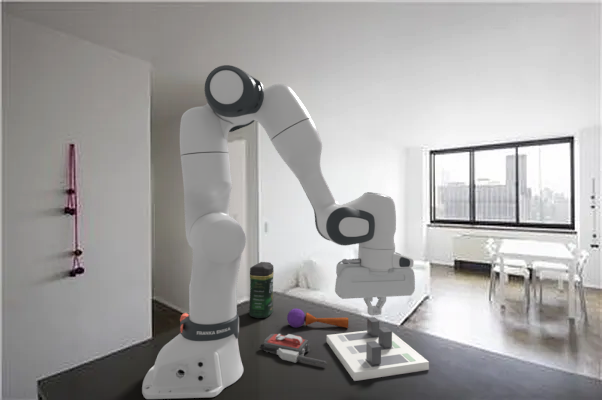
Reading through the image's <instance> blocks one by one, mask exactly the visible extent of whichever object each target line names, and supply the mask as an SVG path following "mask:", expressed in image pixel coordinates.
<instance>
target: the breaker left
mask: <svg viewBox="0 0 602 400" xmlns="http://www.w3.org/2000/svg"><path fill="white" fill-rule="evenodd" d="M366 320H367V321H366V322H367V323H366V331H367V332H368V333H369V334H370V335H371V336H379V328H380V320H378V319H377V318H376V317H375V316H374V317H373V316H372V317H367V319H366Z"/></svg>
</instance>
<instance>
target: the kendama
mask: <svg viewBox="0 0 602 400" xmlns="http://www.w3.org/2000/svg"><path fill="white" fill-rule="evenodd" d="M305 313H306V314H305ZM286 320H287V324H288V325H289V326H290V327H292V328H296V329H297V328H300V327H302V326H303V325H304V324H305V325H304V326H308V325H311V324H314V323H321V324H326V325H330V326H331V325H332V326H335V327H340V328H343V329H345V328H346V329H348V328H349V317H315V316H314V315H312V314H310V313H309V312H304V310H302V309H300V308H293V309H291V310H289V311H288V313H287V316H286Z"/></svg>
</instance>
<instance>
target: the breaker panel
mask: <svg viewBox="0 0 602 400" xmlns="http://www.w3.org/2000/svg"><path fill="white" fill-rule="evenodd" d="M378 339H379V336H371V335H370V334H369V333H368V332H367V330H363V331H362V330H361V331H360V330H359V331H353V332H352V331H351V332H344V333H336V334H335V333H334V334H326V343H327V345H329V347H330V349H331V350H332V352H333V353H334V354H335V356H336V357H337V359H338V360H339V362H340V363H341V364H342V366H343V367H344V368H345V370H346V372H348V374H349V376H350V377H351V379H353V381H354V382H356V381H363V380H370V379H377V378H381V377H382V378H384V377H389V376H396V375H402V374H403V375H404V374H409V373H417V372H422V371H429V370H430V361H428V359H426V358H425V357H424V356H423V355H421V354H420V353H419V352H418V351H416V350H415V349H414V348H412V347H411V345H409V344H408V343H406V342H405V340H403V339H401V338H400V337H399V336H398V335H397V334H396V333H394V331H392V347H387V348H384V347H382V346H381V345H380V344H379V343H378ZM372 341H376V342H377V343H378V344H379V345H380V346H381V364H376V365H371V363H370V362H369V361H368V360H367V359H366V343H367V342H372Z"/></svg>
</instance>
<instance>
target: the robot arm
mask: <svg viewBox="0 0 602 400" xmlns="http://www.w3.org/2000/svg"><path fill="white" fill-rule="evenodd" d="M204 95H205V100H206V104H204V105H202V106H195V107H191V108H189V109H187V110H186V111H185V112H183V114H182V116H181V118H180V126H179V150H180V151H179V152H180V154H179V155H180V163H181V172H182V181H183V183H182V184H183V195H184V196H183V198H184V199H183V201H184V202H183V205H184V223H185V224H184V225H185V226H184V227H185V239H186V241H187V244H188V246H189V247H190V248H191V249H192V261H191V262H192V264H191V265H192V266H191V273H190V281H189V286H188V287H189V288H188V291H189V293H188V295H189V297H188V299H189V301H188V302H189V306H188V307H189V308H188V310H189V312H188V313H189V314H188V313H186V312H184V313H182V315H180V318H179V321H180V324H179V334H178V335H176V336H175V337H173V339H170V341H169V342H167V343H166V344H164V345H163V346H162V348H161V349H160V351H158V354H157V357H156V359H155V361H154V365H153V366H152V367H151V368H149V370H148V371H147V373H146V374H145V376H144V378H143V381H142V387H141V394H142V395H143V398H145V399H146V400H163V399H164V400H165V399H167V400H169V399H170V400H171V399H194V398H195V399H199V398H200V399H201V398H203V399H204V398H214V397H217V396H218V395H219V394H220V393H221V392H222V391H223V390H224V389H225V388H227V387H230V386H231V385H233V384H235V383H236V382H237V381H238V380H239V379H241V377H242V375H243V374H244V365H243V363H242V358H241V354H240V347H239V339H238V338H239V334H240V317H239V312H238V311H237V308H238V306H237V305H238V304H237V303H238V301H237V300H238V299H237V297H238V290H237V289H238V276H239V271H240V266H241V259H242V253H243V252H244V250H245V248H246V243H247V242H246V241H247V238H246V233H245V231H244V228H243V227H242V225H241V224H240V223H239V221H237V220H236V219H235V218H234V217H232V216H230V206H231V205H230V204H231V203H230V201H231V193H232V188H233V182H232V181H233V180H232V171H231V161H230V160H231V159H230V151H229V133H232V132H235V131H237V130H240V129H243V128H245V127H248V126H250V125H252V124H254V122H257V123H258V124H260V125H261V126H262V128H263V129H264V131H265V132H266V134H267V137H268V138H269V140H270V142H271V143H272V146H273V147H274V148H275V151H276V152H277V154H278V155H279V156H280V158H281V159H282V160H283V162H284V164H286V166H287V167H288V168H289V169H290V171H292V173H293V174H294V175H295V177H296V178H297V180H298V181H299V183H300V186H301V187H302V189H303V191H304V193H305V195H306V198H307V200H308V201H309V202H310V205H311V207H312V209H313V212H314V224H315V228H316V231H317V232H318V234H319V236H321V238H323V239H325V240H327V241H329V242H330V241H331V242H332V243H334V244H336V245H338V246H350V245H356V244H357V245H358V248H357V249H358V251H357V252H358V253H357V255H358V256H357V257H358V258H343V259H341V260H340V261H339V262H338V263H337V264H336V268H335V269H336V271H335V272H336V273H335V274H336V279H335V284H334V285H335V286H334V292H335V294H336V295H337V296H338V297H339V298H340V299H342V300H344V299H345V300H348V299H363V302H364V303H365V304H366V306H367V312H366V313H367V314H368V316H374V315H375V316H378V315H382V308H383V307H384V305H385V303H386V302H387V298H388V297H391V298H392V297H406V296H408V297H409V296H412V295H413V294H414V292H415V291H416V289H415V288H416V281H415V280H416V279H415V271H414V269H413V268H412V267H414V261H415V260H414V259H413V258H411V257H408V256H406V255H404V254H401V253H398V252H396V243H395V234H396V230H397V212H396V211H397V210H396V204H395V201H394V199H393V198H392V197H391V196H389V195H386V194H384V193H378V192H364V193H363V194H362V195H360V196H359V197H358V198H355V199H352V200H351V201H349V202H346V203H343V204H341V203H339V202H338V201H337V200H336V199H335V197H334V195H333V193H332V191H331V189H330V187H329V185H328V184H327V181H326V179H325V177H324V175H323V172H322V168H321V156H322V150H323V144H322V143H323V142H322V139H321V137H320V134H319V131H318V128H317V126H316V124H315V122H314V120H313V118H312V117H311V115H310V113H309V111H308V109H307V108H306V106H305V105H304V103H303V102H302V101H301V99H300V98H299V96H298V95H297V94H296V92H295V91H294V90H293V89H292V87H290V86H289V85H287V84H284V83H276V84H272V85H269V86H268V87H266V88H264V85H263V83H262V81H260V80H259V79H256V78H255V77H254V76H252V75H250V74H249V73H247V72H246V71H244V70H243V69H242V68H239V67H238V66H237V67H236V66H234V65H230V64H224V65H220V66H217V67H214V69H212V70H211V71H210V72H209V73H208V75H207V77H206V78H205V82H204ZM374 298H377V299H378V300H377V302H376V304H375V305H373V304H372V302H373V299H374Z"/></svg>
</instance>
